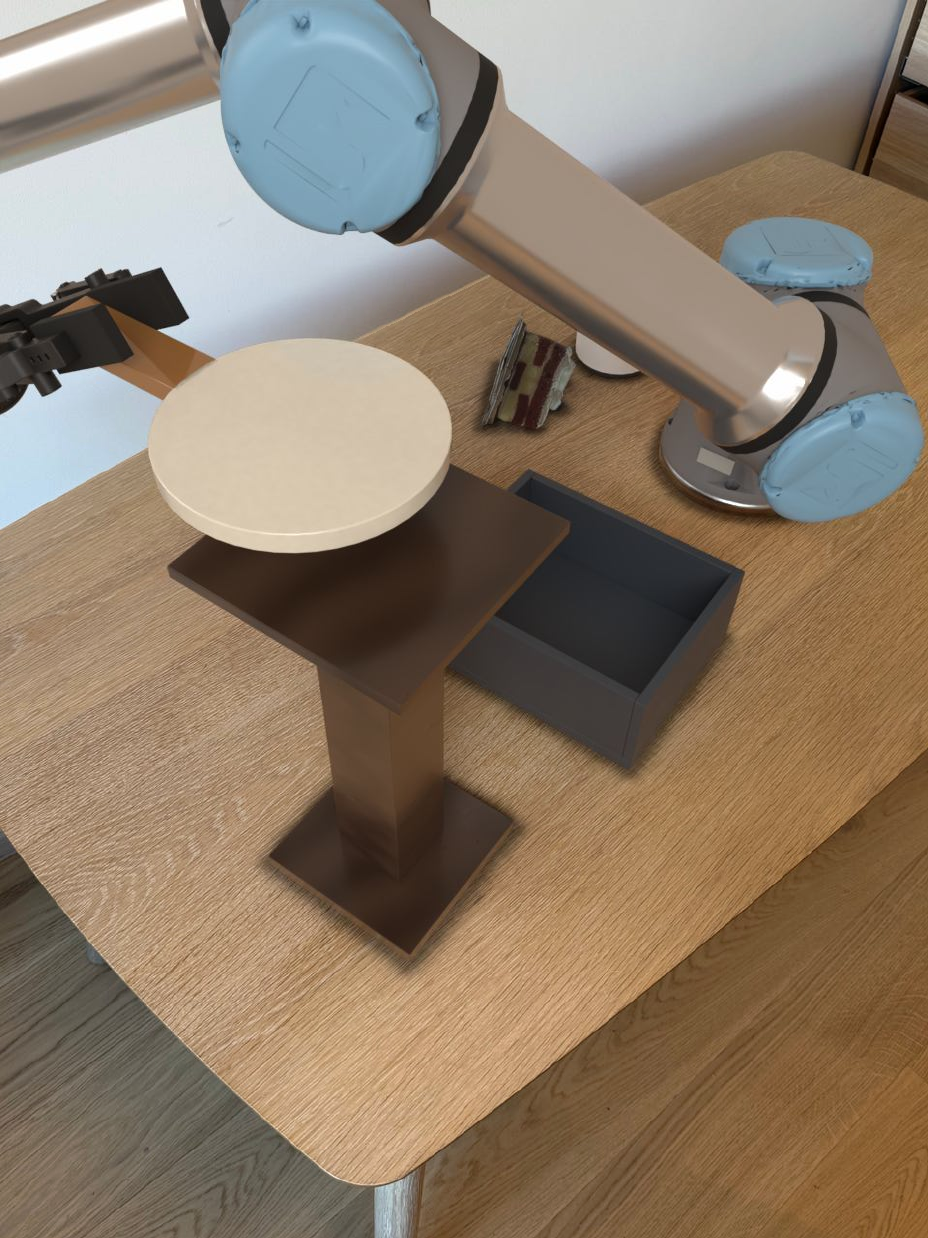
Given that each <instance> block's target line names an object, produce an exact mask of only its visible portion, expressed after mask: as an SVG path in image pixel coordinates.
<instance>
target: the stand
mask: <svg viewBox="0 0 928 1238" xmlns="http://www.w3.org/2000/svg"><path fill="white" fill-rule="evenodd" d="M506 490H507V489H504V488H502V487H501V486H498V485H496V484H493V483H492V482H491V481H488V480H486V479H484V478H481V477H480V476H477V475H476V474H473V473H472V472H469V471H467V470H465V469H463V468H461V467H459V466H457V465H455V464H453V463H451V462H450V465H449V469H448V471H447V473H446V476H445V478H444V480H443V482H442V484H441V485H440V487H439V488H438V490H437V491H436V493H435V494H434V496H433V497H432V498H431V499H430V500H429V501H428V502H427V503H426V504H425V505H424V506H423V507H422V508H421V509H420V510H419V511H418V512H416V513H415V514H414V515H413V516H411V517H410V518H409V519H407V520H406V521H404V522H403V523H401V524H400V525H398V526H396V527H395V528H393V529H391V530H389V531H387V532H385V533H383V534H381V535H379V536H377V537H374V538H371V539H368V540H366V541H363V542H360V543H357V544H353V545H350V546H346V547H342V548H338V549H332V550H326V551H319V552H307V553H273V552H265V551H257V550H251V549H247V548H243V547H238V546H234V545H231V544H228V543H225V542H223V541H220V540H217V539H215V538H213V537H211V536H208V535H206V534H204V536H202V537H201V538H200V539H199V540H197V541H196V542H195V543H193V544H192V545H191V546H190V547H188V548H187V549H186V550H185V551H184V552H182V554H180V555H179V556H177V557H176V558H175V559H174V560H173V561H172V562H171V563H169V564H167V566H166V569H167V572H168V575H169V578H170V579H172V580H174V581H175V582H177V583H179V584H180V585H181V586H183V587H185V588H187V589H189V590H191V591H192V592H194V593H195V594H197V595H198V596H200V597H202V598H203V599H205V600H206V601H209V602H210V603H212V604H213V605H215V606H216V607H218V608H219V609H222V610H223V611H225V612H226V613H228V614H230V615H232V616H234V617H235V618H237V619H238V620H240V621H241V622H243V623H245V624H247V625H248V626H250V627H252V628H253V629H254V630H256V631H258V632H260V633H262V634H263V635H265V636H266V637H268V638H270V639H272V641H275V642H276V643H278V644H280V645H281V646H283V647H285V648H286V649H288V650H290V651H291V652H293V653H295V654H296V655H298V656H300V657H301V658H303V659H305V660H306V661H308V662H309V663H311V664H313V665H314V666H316V671H317V679H318V687H319V693H320V694H319V695H320V700H321V701H320V702H321V707H322V708H321V709H322V715H323V723H324V729H325V736H326V737H325V738H326V743H327V753H328V759H329V764H330V765H329V767H330V773H331V781H332V786H331V788H329V789H328V791H326V793H325V794H324V795H323V796H322V797H321V798H320V799H319V801H317V803H315V805H314V806H313V807H312V808H311V809H310V810H309V811H308V812H307V813H306V814H305V816H304V817H303V818H302V819H301V820H300V821H299V822H298V823H297V824H296V825H295V826H294V828H293V829H291V831H290V832H289V833H288V834H287V835H286V837H284V839H282V841H281V842H280V843H279V844H278V845H277V846H276V847H275V848H274V849H273V850H272V851H271V853H269V855H268V860H269V864H270V866H272V867H273V868H275V869H276V870H278V871H279V872H281V874H283V875H284V876H286V877H288V878H289V879H291V880H292V881H293V882H295V883H296V884H297V885H299V886H300V887H302V889H304V890H306V891H308V892H309V893H311V894H312V895H313V896H314V897H316V898H317V899H319V900H320V901H321V902H323V903H325V904H326V905H327V906H328V907H330V908H331V909H333V910H334V911H336V912H337V913H339V914H340V915H341V916H343V917H344V918H346V919H347V920H349V922H351V923H353V924H355V926H357V927H359V928H360V929H362V930H363V931H365V932H366V933H367V934H369V935H370V936H371V937H372V938H374V939H376V940H377V941H379V942H380V943H381V944H383V945H384V946H386V947H387V948H389V949H390V950H392V951H393V952H394V953H396V954H397V955H399V956H400V957H401V958H403V959H404V960H405V961H407V962H409V963H411V962H412V961H413V959H414V958H415V957H416V956H417V954H418V953H419V952H420V951H421V949H422V948H423V947H424V945H425V944H426V942H427V941H428V940H429V939H430V938H431V936H432V935H433V934H434V932H435V931H436V930H437V928H439V925H440V924H441V923H442V922H443V920H444V919H445V918H446V917H447V915H448V914H449V913H450V912H451V910H452V909H453V907H455V905H456V903H457V902H458V901H459V900H460V898H461V897H462V896H463V894H464V893H465V892H466V891H467V889H468V888H469V887H470V886H471V884H472V883H473V881H474V880H476V878H477V877H478V875H479V874H480V872H481V871H482V870H483V869H484V867H485V866H486V865H487V863H489V861H490V860H491V858H492V857H493V855H494V854H496V852H497V850H498V849H499V848H500V847H501V845H502V844H503V843H504V841H505V840H506V839H507V838H508V836H509V835H510V834H511V832H512V831H513V828H514V820H513V819H511V818H509V816H506V815H505V814H503V813H501V812H500V811H498V810H496V809H495V808H493V807H492V806H490V805H488V804H487V803H485V802H484V801H482V800H481V799H479V798H477V797H476V796H474V795H472V794H471V793H469V792H467V791H466V790H465V789H463V788H461V787H459V786H458V785H456V784H455V783H453V782H451V781H450V780H448V779H446V778H445V777H444V753H445V752H444V750H445V749H444V747H445V746H444V745H445V744H444V740H445V739H444V736H445V732H444V731H445V728H444V727H445V724H444V723H445V721H444V719H445V718H444V717H445V713H444V712H445V669H446V668H447V665H448V664H449V663H450V662H451V661H452V660H453V659H454V658H455V657H456V656H457V654H458V653H459V652H460V651H461V650H462V649H463V648H464V647H465V646H466V645H467V644H468V642H469V641H470V640H471V639H472V638H473V637H474V636H475V635H476V634H477V633H478V632H479V630H480V629H481V628H482V627H483V626H484V625H485V624H486V623H487V622H488V621H489V620H490V618H491V617H492V616H493V615H494V614H495V613H496V612H497V611H498V610H499V609H500V608H501V606H502V605H503V604H504V603H505V602H506V601H507V600H508V599H509V598H510V597H511V596H512V595H513V593H514V592H515V591H516V590H517V589H518V588H519V587H520V586H521V585H522V584H523V583H524V581H525V580H526V579H527V578H528V577H529V576H530V575H531V574H532V573H533V572H534V571H535V569H536V568H537V567H538V566H539V565H540V564H541V563H542V562H543V561H544V560H545V559H546V557H547V556H548V555H549V554H550V553H551V552H552V551H553V550H554V549H555V548H556V547H557V545H558V544H559V543H560V542H561V541H562V540H563V539H564V538H565V537H566V536H567V535H568V533H569V531H570V521H568V520H566V519H564V518H562V517H560V516H557V515H555V514H553V513H551V512H549V511H547V510H545V509H543V508H541V507H539V506H537V505H535V504H533V503H531V502H529V501H527V500H525V499H523V498H521V497H518V496H516V495H514V494H512V493H510V492H508V491H506Z"/></svg>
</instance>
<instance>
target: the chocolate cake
mask: <svg viewBox="0 0 928 1238" xmlns="http://www.w3.org/2000/svg"><path fill="white" fill-rule="evenodd" d="M523 316H524V312H522V313H521V316H520V318H519V319H518V321H517V323H516V324H515V328H514V329H513V330H512V332H511V335H510V338H509V340H508V342H507V344H506V346H505V349H504V351H503V353H502V355H501V359H500V362H499V365H498V367H497V368H498V369H497V371H496V376H495V377H494V382H493V387H492V389H491V391H490V394H489V395H490V396H489V398H488V400H489V401H488V404H487V407H486V409H485V413H484V415H483V418H482V421H481V424H482V425H481V427H483V426H485V425H493V423H494V420H495V418H498V419H499V420H501V421H503V422H510V423H511V424H513V425H516V426H520V427H526V428H527V429H529V430H532V431H533V430H534V431H535V430H537V429H539V428H540V427H542V426H543V425H544V422H545V421H546V419H547V416H548V415H549V414H548V413H549V411H550V410H551V411H557V410H558V411H561V410H562V409H563V408H564V407H565V405H564V403H563V402H562V398H563V396H564V391H565V388H566V387H567V386H568V383H569V381H570V378H571V376H572V374H573V371H574V369H575V368H576V363H575V362H574V361H573V359H571V356H572V354H573V349H572V348H571V347H570V346H569V345H566V344H563V343H560V342H558V341H556V340H554V339H552V338H549V337H547V336H544V335H542V334H539V333H535V332H533V331H530V330H528V329H527V326H528V325H527V324H526V323H525V322H524V321H523Z"/></svg>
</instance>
